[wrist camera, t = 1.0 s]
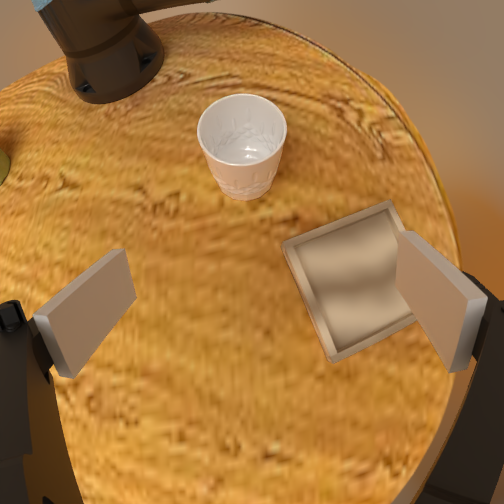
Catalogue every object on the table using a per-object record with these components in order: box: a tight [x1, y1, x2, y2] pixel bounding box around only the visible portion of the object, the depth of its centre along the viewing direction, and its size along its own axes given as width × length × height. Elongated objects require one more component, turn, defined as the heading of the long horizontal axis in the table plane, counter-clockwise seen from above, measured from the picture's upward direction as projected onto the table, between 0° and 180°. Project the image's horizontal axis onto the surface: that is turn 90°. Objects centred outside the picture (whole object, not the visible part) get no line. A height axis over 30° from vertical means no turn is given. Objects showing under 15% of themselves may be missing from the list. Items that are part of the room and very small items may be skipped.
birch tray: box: [281, 199, 417, 364], centre depth 33 cm, size 13×13×2 cm
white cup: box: [197, 94, 287, 201], centre depth 32 cm, size 8×8×10 cm
